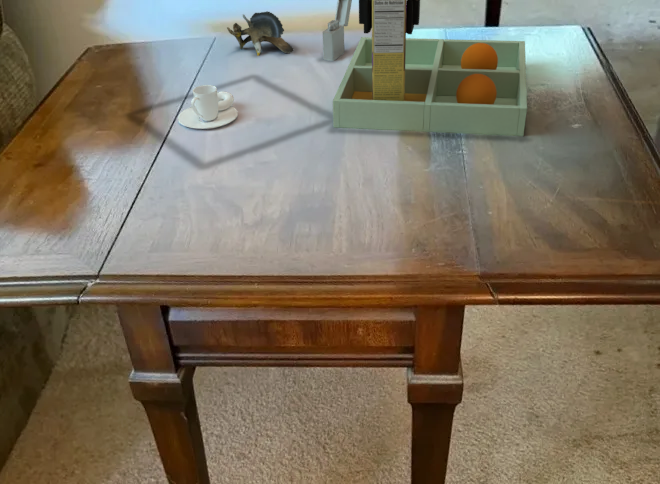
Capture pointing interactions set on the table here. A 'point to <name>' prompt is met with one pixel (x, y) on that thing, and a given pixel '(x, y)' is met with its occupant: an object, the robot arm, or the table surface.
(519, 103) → the divided tray
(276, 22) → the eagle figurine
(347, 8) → the lighter
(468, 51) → the clementine
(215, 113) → the teacup and saucer
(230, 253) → the table surface
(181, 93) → the table surface
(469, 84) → the clementine
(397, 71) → the candy box
